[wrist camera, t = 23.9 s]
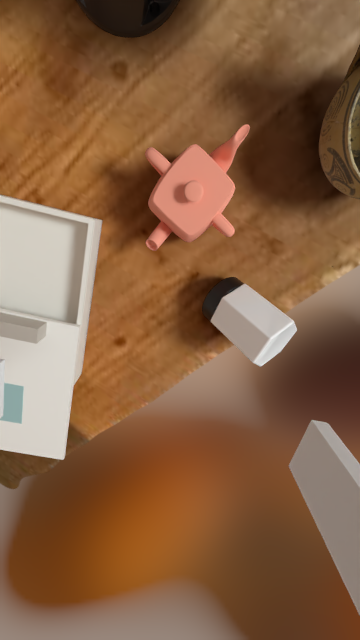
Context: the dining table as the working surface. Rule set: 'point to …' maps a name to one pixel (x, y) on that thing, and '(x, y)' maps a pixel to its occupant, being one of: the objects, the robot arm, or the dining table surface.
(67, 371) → the lid
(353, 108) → the ceramic bowl
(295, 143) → the dining table surface
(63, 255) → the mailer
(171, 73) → the dining table surface
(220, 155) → the teapot
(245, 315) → the jar
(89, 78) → the dining table surface
